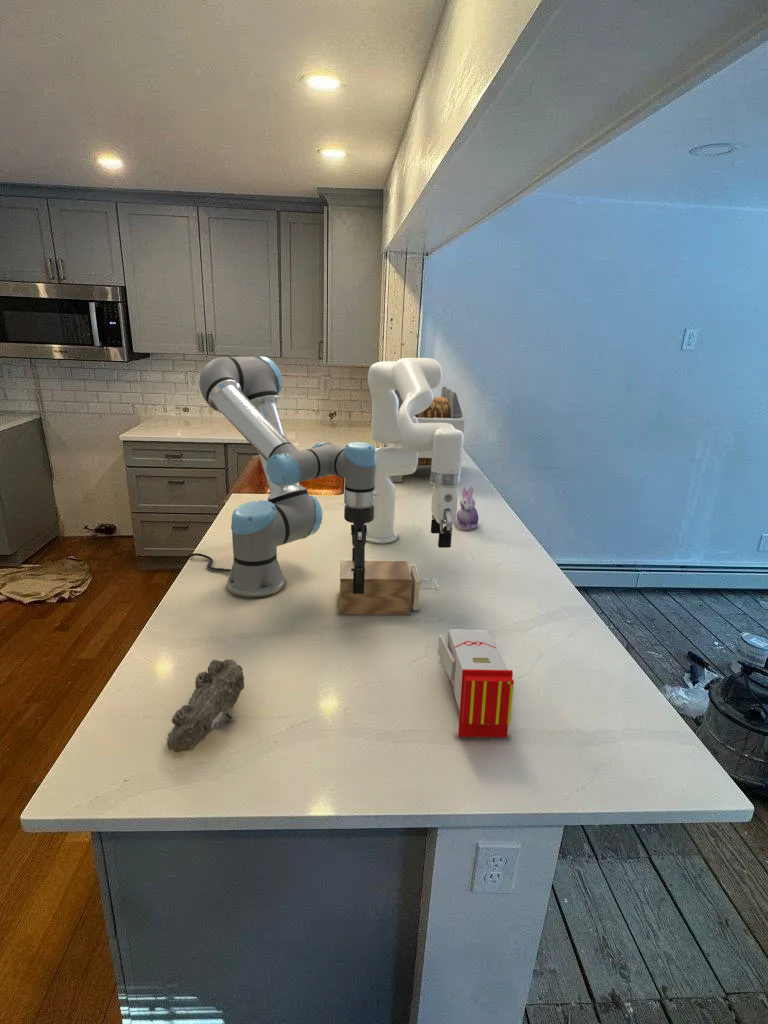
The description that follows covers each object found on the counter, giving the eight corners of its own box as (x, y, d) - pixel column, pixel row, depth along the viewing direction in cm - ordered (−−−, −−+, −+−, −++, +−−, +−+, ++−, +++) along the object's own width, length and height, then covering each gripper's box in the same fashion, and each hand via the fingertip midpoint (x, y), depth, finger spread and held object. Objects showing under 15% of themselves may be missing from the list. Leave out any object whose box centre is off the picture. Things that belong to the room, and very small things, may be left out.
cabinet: (405, 594, 158) (407, 561, 154) (409, 614, 148) (411, 579, 144) (339, 594, 156) (340, 560, 153) (339, 614, 146) (340, 578, 143)
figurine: (464, 532, 203) (468, 492, 198) (448, 523, 212) (451, 484, 206) (485, 529, 207) (489, 490, 202) (469, 519, 216) (472, 482, 211)
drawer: (433, 592, 157) (435, 565, 155) (438, 610, 148) (441, 581, 146) (352, 592, 156) (353, 564, 153) (353, 609, 147) (354, 581, 144)
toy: (488, 613, 130) (523, 677, 101) (484, 667, 133) (517, 744, 104) (435, 612, 130) (455, 676, 101) (432, 666, 133) (451, 743, 103)
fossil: (192, 660, 117) (244, 628, 112) (224, 691, 120) (276, 661, 115) (142, 746, 98) (202, 712, 93) (182, 779, 101) (242, 748, 96)
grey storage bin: (382, 463, 289) (386, 382, 275) (445, 464, 293) (451, 384, 279) (390, 482, 257) (394, 392, 243) (460, 483, 261) (468, 394, 247)
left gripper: (377, 522, 131) (374, 604, 138) (371, 490, 154) (369, 561, 161) (344, 522, 130) (343, 604, 137) (344, 489, 153) (343, 561, 161)
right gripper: (468, 487, 136) (462, 553, 142) (451, 468, 153) (447, 528, 158) (437, 487, 136) (432, 553, 141) (424, 468, 152) (420, 528, 157)
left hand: (357, 581), depth 149 cm, fingers open, 13 cm apart
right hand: (440, 539), depth 150 cm, fingers open, 9 cm apart
